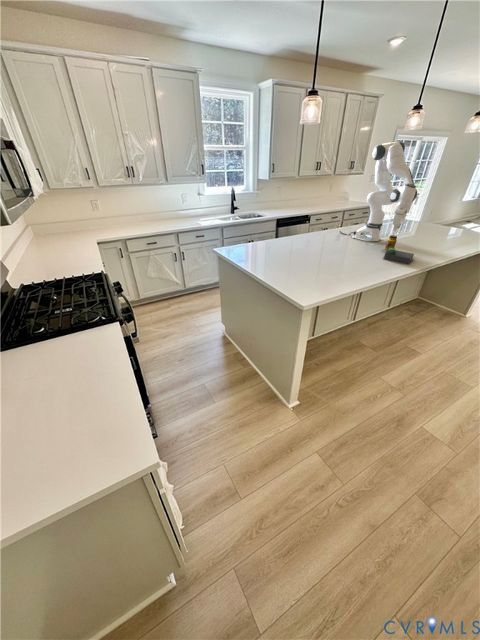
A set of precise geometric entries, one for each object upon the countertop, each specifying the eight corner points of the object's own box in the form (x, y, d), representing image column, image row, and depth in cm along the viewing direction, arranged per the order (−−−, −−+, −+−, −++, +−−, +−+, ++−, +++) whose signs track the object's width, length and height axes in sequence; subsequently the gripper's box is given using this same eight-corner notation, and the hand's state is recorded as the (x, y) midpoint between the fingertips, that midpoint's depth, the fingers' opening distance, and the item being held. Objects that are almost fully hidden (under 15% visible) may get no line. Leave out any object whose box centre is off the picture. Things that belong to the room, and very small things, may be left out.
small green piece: (387, 251, 184) (388, 248, 183) (389, 249, 186) (389, 247, 185) (393, 252, 182) (393, 249, 181) (394, 251, 184) (395, 248, 183)
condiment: (382, 251, 200) (387, 236, 194) (385, 249, 206) (390, 233, 199) (392, 253, 196) (397, 237, 190) (395, 250, 202) (400, 235, 195)
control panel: (382, 258, 187) (385, 250, 184) (387, 254, 195) (390, 246, 192) (408, 264, 178) (411, 256, 174) (412, 259, 186) (415, 251, 183)
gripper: (401, 207, 193) (395, 226, 200) (394, 210, 180) (388, 231, 187) (410, 208, 189) (404, 227, 197) (404, 212, 176) (397, 232, 184)
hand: (396, 229), depth 192 cm, fingers open, 8 cm apart
